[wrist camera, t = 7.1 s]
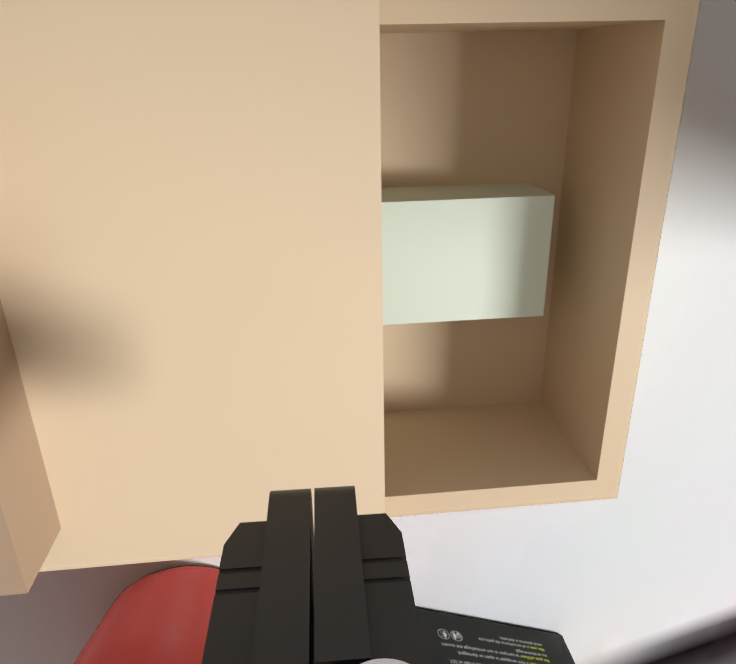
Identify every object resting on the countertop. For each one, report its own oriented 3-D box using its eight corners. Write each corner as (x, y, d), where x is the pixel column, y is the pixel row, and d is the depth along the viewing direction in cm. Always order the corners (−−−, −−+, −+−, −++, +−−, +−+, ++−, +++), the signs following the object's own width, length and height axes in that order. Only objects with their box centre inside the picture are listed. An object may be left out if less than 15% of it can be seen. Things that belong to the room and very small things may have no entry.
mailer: (594, 3, 20) (703, -19, 15) (550, 407, 26) (617, 498, 21) (-56, 12, 19) (-202, -8, 13) (53, 442, 25) (-17, 550, 19)
